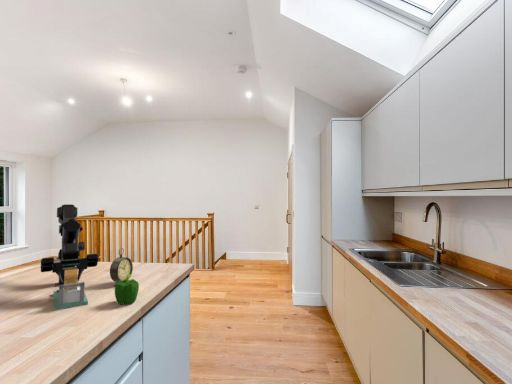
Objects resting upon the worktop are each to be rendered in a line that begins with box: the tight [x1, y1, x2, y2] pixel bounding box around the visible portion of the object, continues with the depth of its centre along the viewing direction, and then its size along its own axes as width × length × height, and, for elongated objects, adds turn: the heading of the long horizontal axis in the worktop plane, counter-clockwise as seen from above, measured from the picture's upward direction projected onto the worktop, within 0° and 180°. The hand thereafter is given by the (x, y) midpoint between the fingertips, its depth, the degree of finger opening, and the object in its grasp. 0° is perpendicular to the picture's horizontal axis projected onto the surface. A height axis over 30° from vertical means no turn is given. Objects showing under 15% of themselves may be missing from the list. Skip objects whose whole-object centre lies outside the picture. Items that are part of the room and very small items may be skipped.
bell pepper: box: [114, 274, 140, 305], centre depth 108 cm, size 8×8×10 cm
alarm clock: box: [109, 247, 134, 283], centre depth 132 cm, size 11×5×16 cm, turn 168°
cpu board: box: [53, 281, 89, 311], centre depth 111 cm, size 20×10×8 cm, turn 36°
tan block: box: [63, 266, 79, 293], centre depth 106 cm, size 10×4×10 cm, turn 36°
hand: (71, 281), depth 108 cm, fingers open, 4 cm apart
